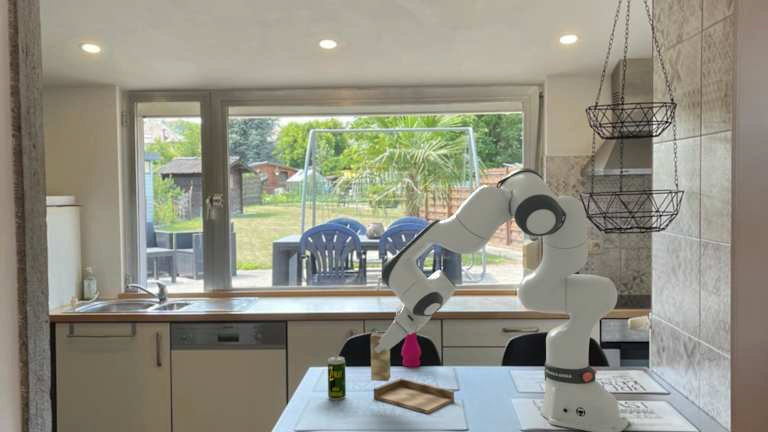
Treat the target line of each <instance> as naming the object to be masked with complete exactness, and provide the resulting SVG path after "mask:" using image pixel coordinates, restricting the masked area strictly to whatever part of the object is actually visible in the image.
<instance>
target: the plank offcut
mask: <svg viewBox="0 0 768 432" xmlns="http://www.w3.org/2000/svg"><path fill="white" fill-rule="evenodd" d="M384 334H385V332H384V333H382V332H381V333H380V332H379V333H377V332H373V333H372V334H371V335H370V336H369V337H370V372H371V373H370V380H371V381H376V382H377V381H378V382H389V381H390V379H391V349H389V350H386V349H385V348H384V349H383V350H382V351H381V352H380V353H377V352H376V351H375V348H376V347H377V346H378V345H379V341H380V339H381V338H382V336H383V335H384Z"/></svg>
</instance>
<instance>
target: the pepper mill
mask: <svg viewBox="0 0 768 432" xmlns="http://www.w3.org/2000/svg"><path fill="white" fill-rule="evenodd" d="M418 331H419V330H418ZM418 331H417V332H416V331H415V332H413V333H412V334H411V335H410V334H408V335H407V336H406V337H405V338H404V340H405V341H404V343H403V346H402V348H401V352H400V354H401V356H402V358H403V360H402V365H403V366H404V367H406V368H416V367H419V366H420V365H421V361H420V357H421V356H422V350H421V347H420V344H419V343H418V339H417V333H418Z"/></svg>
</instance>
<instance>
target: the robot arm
mask: <svg viewBox="0 0 768 432" xmlns="http://www.w3.org/2000/svg"><path fill="white" fill-rule="evenodd" d="M512 220H514V221H515V224H516V225H517V227H518V229H520V230H521V232H522V233H524V234H525V235H527V236H530V237H542V257H541V261H540V264H539V265H538V267H537V268H536V269H535V270H533V271H532V272H530V273H529V274H527V275H525V276H524V277H523V278H522V279H521V282H520V283H519V285H518V293H517V294H518V298H519V300H520V303H521V305H522V307H524V308H525V309H526V310H528V311H529V310H530V311H533V312H538V313H544V314H559V315H560V314H561V315H562V314H564V315H569V319H568V320H567V321H566V322H565V323H562V324H561V325H557V326H556V327H554V328H552V329H551V330H550V331H548V333H547V335H546V337H545V345H546V346H545V349H546V350H545V351H546V353H545V354H546V355H545V356H546V357H545V358H546V359H545V362H544V381H545V388H544V396H543V402H542V406H541V409H540V414H541V416H542V417H544V418H545V419H546V420H548V422H549V423H550V424H551V425H553V426H559V427H565V428H570V429H574V430H575V429H576V430H582V431H586V432H622V431H624V430H625V429H626V428H627V427H628V425H629V417H628V416H627V415H625V414H622V413H621V412H620V408H619V403H618V401H617V399H616V397H615V396H614V395H613V394H612V393H611V392H610V391H609V390H607V389H606V388H605V387H604V386H603V385H602V384H601V383H599V382H598V381H597V380H596V374H598V368H595V369H593V367H592V366H591V365H590V364H589V352H590V351H589V347H590V339H591V335H592V332H593V330H594V328H595V327H596V325H597V324H598V322H599V321H600V320H602V318H604V317H605V316H607V315H608V314H610V313H611V312H612V311H613V310H614V309H615V307H616V305H617V301H618V290H617V288H616V286H615V284H614V282H613V281H612V280H611V279H610V278H608V277H606V276H601V275H595V274H587V273H586V274H585V273H584V274H583V273H581V274H580V273H578V272H580V271H581V270H582V269H583V268H584V266H585V265H586V264H587V261H588V258H589V257H588V255H589V251H588V250H589V248H588V245H589V244H588V243H589V242H588V240H589V239H588V237H589V235H588V223H587V216H586V212H585V208H584V204H582V202H581V201H580V200H579V199H578V198H576V197H574V196H572V195H559V196H555V195H554V193H553V192H552V190H551V188H550V187H549V186H548V184H547V183H546V182H545V181H544V178H543V177H542V176H541V174H539V173H538V172H537V171H535V170H533V169H531V168H528V167H521V168H516V169H514V170H513V171H511V172H509V173H508V174H507V175H506V176H505V177H504V178H503V177H502V178H501V179H500V180H499V181H498V182H497V184H496V186H495V185H493V184H484V185H481V186H479V187H478V188H477V189H476V190H475V191H473V192H472V194H470V195H469V196H468V197H467V198H466V199H465V200H464V201H463V202H462V204H461V205H460V206H459V207H458V209H457V210H456V211H455V212H454V214H452V215H451V216H450V217H448V218H442V217H441V218H437V219H434V221H431V222H430V223H429V224H427V226H425V227H424V228H423V229H422V230H421V231H420V232H419V233H417V235H415V236H414V237H413V238H412V239H411V240H410V241H409V242H408V243H407V244H406V245H404V247H403V248H401V249H400V251H398V252H397V253H396V254H394V255H393V256H392V257H390V258H389V259H388V260H386V262H385V263H383V265H382V267H381V274H380V275H381V281H382V283H384V284H385V285H386V286H387V287H388V288H389V290H391V291H392V292H393V293H394V295H395V296H396V297H397V298H398V299H399V301H400V302H402V303H401V304H400V305H399V306H398V307H397V308H396V309H395V316H394V320H393V322H391V325H389V327H388V329H387V330H386V331H385V332H384V335H383V336H382V338H381V339H380V341H379V345H378V346H377V347H376V348H375V351H376V352H377V353H380V352H381V351H382V350H383V349H384V348H385V349H386V350H389V349H390V350H391V349H392V348H393V347H395V346H396V345H397V344H399V343H400V342H401V341H402V340H403V339H405V338H406V336H407V335H408V334H410V335H411V334H412V333H413V332H415V331H416V332H417V331H420V330H421V329H422V327H424V325H426V323H428V322H429V321H430V320H431V317H432V316H433V315H435V314H436V313H437V312H438V311H440V310H441V309H442V308H443V307H444V305H445V304H447V303H448V301H449V300H450V299H451V297H452V296H453V295H454V293H455V292H456V290H457V287H456V284H455V283H454V281H453V280H452V279H451V278H450V277H449V276H448V274H447V273H446V272H445V271H443V270H440V269H438V270H436V271H435V272H433V273H432V274H431V275H430V276H429V277H427V276H426V275H425V274H424V273H423V272H422V270H421V269H420V268H419V267H418V265H417V259H419V257H421V255H422V254H424V253H425V252H426V251H427V250H428V249H429V248H430V247H431V246H433V245H437V246H440V247H442V248H445V249H447V250H448V251H451V252H452V253H453V252H454V253H457V254H460V255H473V254H475V253H478V252H479V251H481V250H482V249H483V248H484V247H485V246H486V245H487V244H488V242H490V240H492V238H493V236H494V235H495V234H496V233H497V231H498V230H499V228H500V227H501V226H503V225H504V224H506V223H508V222H509V221H512ZM417 333H418V332H417Z"/></svg>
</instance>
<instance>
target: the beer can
mask: <svg viewBox="0 0 768 432" xmlns="http://www.w3.org/2000/svg"><path fill="white" fill-rule="evenodd" d="M345 359H346V358H345V357H344V356H331V357H328V361H327V395H328V399H329V400H331V401H342V400H344V399H345V398H346V395H347V392H346V391H347V389H346V388H347V385H346V383H347V380H346V360H345Z"/></svg>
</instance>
